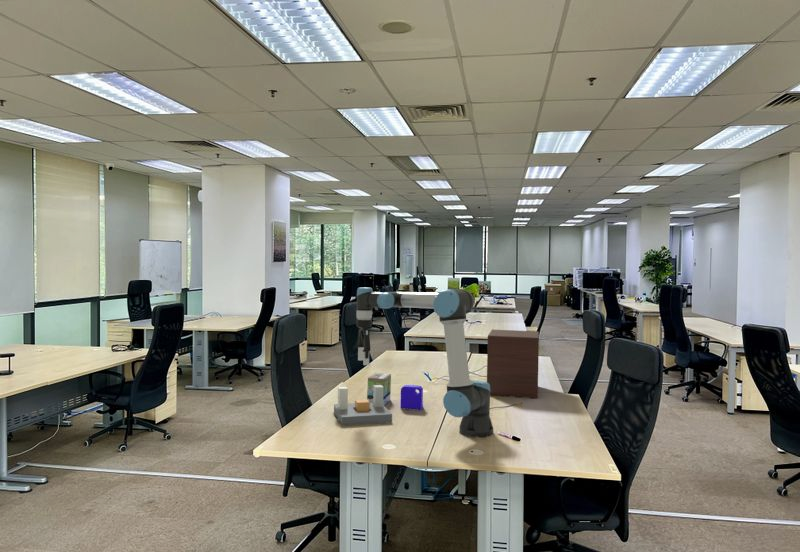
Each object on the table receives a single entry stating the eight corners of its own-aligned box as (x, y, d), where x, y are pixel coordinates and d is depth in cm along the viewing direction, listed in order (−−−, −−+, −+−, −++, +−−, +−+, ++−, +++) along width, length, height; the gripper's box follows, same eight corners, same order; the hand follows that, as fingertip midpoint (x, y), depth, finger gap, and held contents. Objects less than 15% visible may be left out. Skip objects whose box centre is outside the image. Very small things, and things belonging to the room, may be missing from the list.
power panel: (392, 422, 251) (392, 414, 251) (341, 425, 245) (341, 417, 244) (380, 409, 274) (380, 401, 274) (333, 412, 268) (334, 404, 268)
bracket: (420, 410, 274) (421, 387, 274) (400, 408, 277) (400, 386, 277) (427, 402, 292) (427, 380, 292) (407, 400, 294) (408, 379, 294)
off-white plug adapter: (347, 409, 259) (347, 388, 259) (339, 409, 258) (339, 389, 258) (345, 406, 264) (346, 386, 264) (337, 406, 263) (338, 386, 262)
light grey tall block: (383, 407, 264) (383, 387, 264) (375, 407, 263) (375, 387, 263) (380, 404, 269) (381, 384, 268) (373, 405, 267) (373, 385, 267)
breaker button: (369, 412, 257) (369, 402, 257) (357, 413, 256) (357, 402, 256) (366, 409, 263) (367, 399, 263) (354, 409, 261) (355, 399, 261)
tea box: (384, 406, 281) (385, 378, 281) (366, 405, 283) (366, 377, 283) (390, 399, 296) (391, 373, 296) (373, 398, 298) (373, 372, 298)
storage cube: (537, 399, 303) (538, 337, 303) (486, 395, 310) (487, 335, 310) (537, 386, 337) (538, 331, 337) (491, 383, 344) (492, 329, 344)
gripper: (377, 321, 248) (376, 366, 248) (366, 316, 272) (365, 358, 272) (361, 321, 246) (360, 367, 246) (352, 316, 270) (351, 358, 270)
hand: (363, 362), depth 259 cm, fingers open, 12 cm apart
